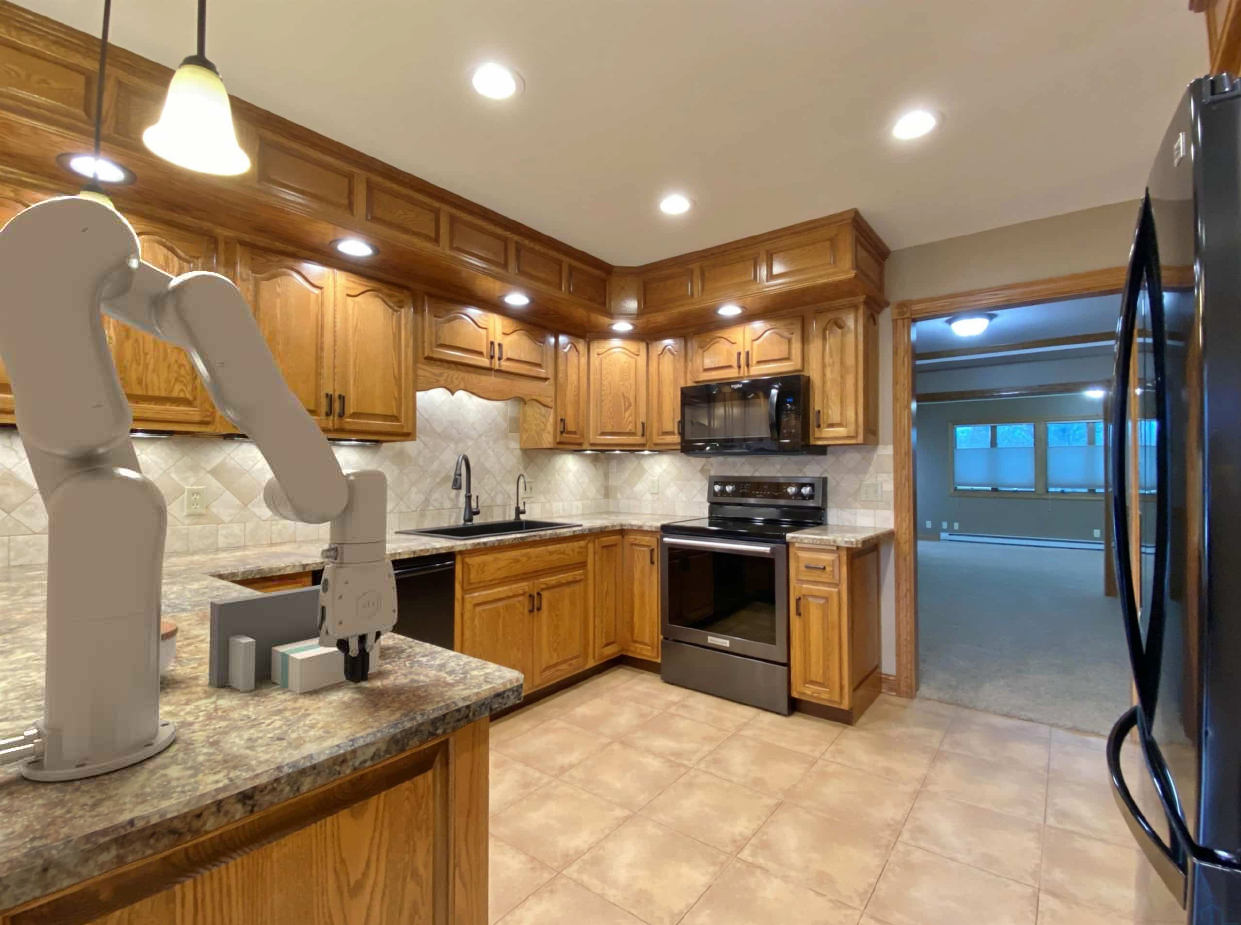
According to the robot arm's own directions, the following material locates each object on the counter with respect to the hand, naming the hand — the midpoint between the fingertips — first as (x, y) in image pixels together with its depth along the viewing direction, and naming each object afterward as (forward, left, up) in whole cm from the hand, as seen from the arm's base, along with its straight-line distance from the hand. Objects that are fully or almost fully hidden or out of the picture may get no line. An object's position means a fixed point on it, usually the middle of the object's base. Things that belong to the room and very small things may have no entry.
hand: (356, 679), depth 83 cm
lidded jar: (-19, +28, -1) cm, 34 cm away
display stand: (0, +15, -1) cm, 15 cm away
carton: (0, +9, -1) cm, 9 cm away
